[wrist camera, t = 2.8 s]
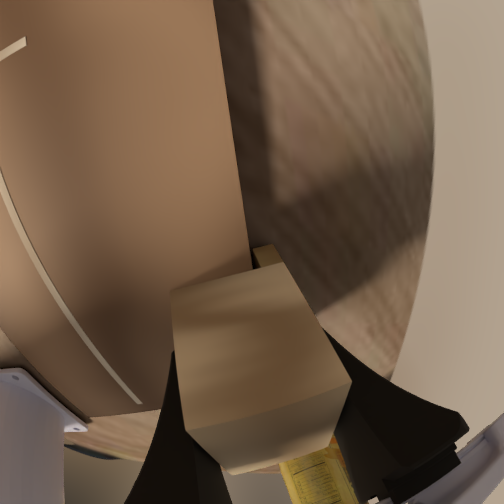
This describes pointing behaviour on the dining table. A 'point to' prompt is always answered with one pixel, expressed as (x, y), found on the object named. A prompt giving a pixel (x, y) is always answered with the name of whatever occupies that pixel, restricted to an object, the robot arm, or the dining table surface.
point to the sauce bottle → (319, 477)
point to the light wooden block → (255, 367)
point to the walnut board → (111, 188)
